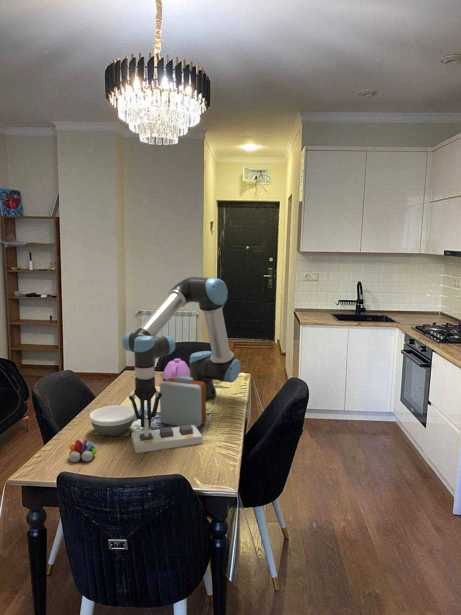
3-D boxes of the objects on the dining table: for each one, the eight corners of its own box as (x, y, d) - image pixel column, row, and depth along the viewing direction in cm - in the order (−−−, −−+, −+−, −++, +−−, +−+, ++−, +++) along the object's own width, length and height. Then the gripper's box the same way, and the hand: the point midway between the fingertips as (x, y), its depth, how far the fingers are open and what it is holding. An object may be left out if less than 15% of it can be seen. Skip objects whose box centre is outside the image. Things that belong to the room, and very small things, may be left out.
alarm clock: (206, 421, 207) (206, 376, 204) (198, 429, 198) (198, 382, 195) (168, 416, 213) (168, 372, 210) (159, 423, 204) (158, 378, 201)
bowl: (95, 444, 183) (94, 424, 182) (86, 427, 200) (85, 409, 198) (141, 435, 192) (141, 416, 190) (129, 420, 208) (128, 402, 207)
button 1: (151, 440, 186) (150, 432, 186) (153, 444, 182) (152, 436, 182) (140, 441, 185) (139, 434, 184) (141, 446, 181) (141, 438, 180)
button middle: (170, 434, 189) (170, 427, 188) (173, 438, 184) (173, 431, 184) (160, 436, 187) (159, 428, 187) (162, 440, 183) (162, 432, 183)
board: (194, 431, 196) (194, 424, 196) (202, 443, 185) (202, 435, 184) (131, 440, 187) (131, 432, 187) (135, 453, 176) (135, 445, 176)
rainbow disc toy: (72, 453, 176) (71, 435, 175) (98, 452, 177) (97, 434, 176) (66, 464, 168) (65, 445, 167) (94, 463, 169) (93, 444, 167)
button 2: (190, 431, 191) (190, 424, 191) (192, 436, 187) (192, 428, 187) (179, 433, 190) (179, 425, 189) (182, 437, 186) (182, 430, 185)
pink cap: (188, 385, 257) (188, 364, 255) (160, 385, 258) (159, 363, 256) (192, 374, 279) (192, 354, 277) (166, 373, 279) (166, 354, 278)
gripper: (159, 372, 185) (160, 429, 188) (126, 375, 181) (128, 433, 184) (163, 377, 178) (164, 436, 181) (129, 381, 174) (130, 441, 177)
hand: (146, 434), depth 183 cm, fingers closed
